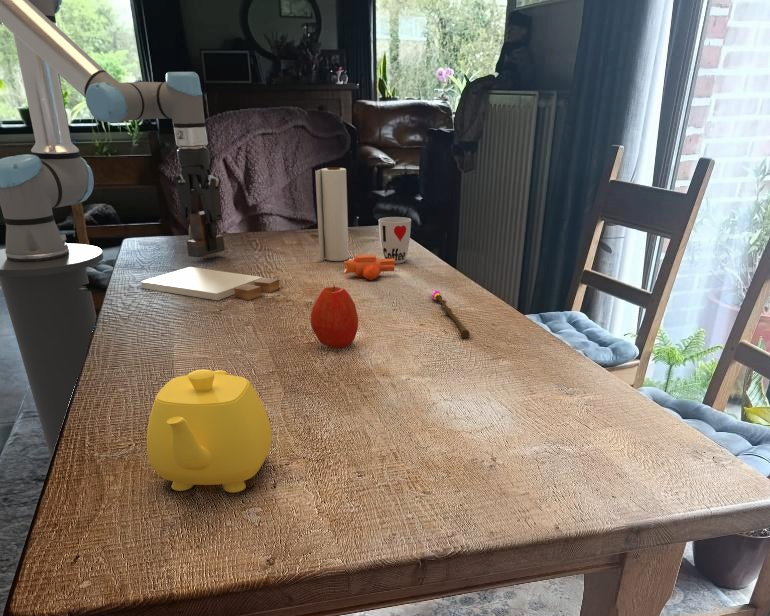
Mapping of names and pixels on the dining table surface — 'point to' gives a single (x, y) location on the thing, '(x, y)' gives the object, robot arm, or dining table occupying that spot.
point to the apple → (334, 318)
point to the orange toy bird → (368, 266)
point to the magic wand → (450, 313)
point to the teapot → (208, 431)
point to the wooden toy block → (201, 237)
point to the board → (199, 283)
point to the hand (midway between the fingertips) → (206, 248)
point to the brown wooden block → (247, 291)
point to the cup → (395, 237)
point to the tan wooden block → (267, 284)
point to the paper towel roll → (332, 213)
